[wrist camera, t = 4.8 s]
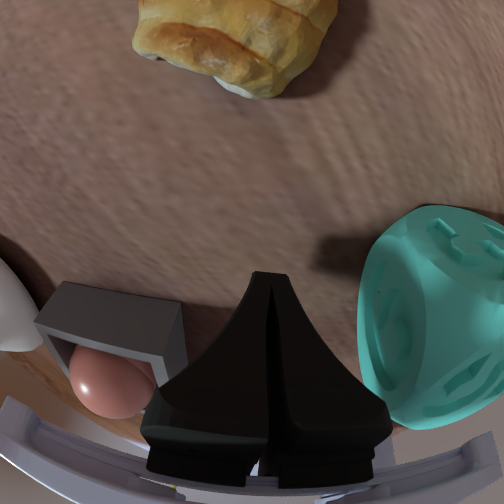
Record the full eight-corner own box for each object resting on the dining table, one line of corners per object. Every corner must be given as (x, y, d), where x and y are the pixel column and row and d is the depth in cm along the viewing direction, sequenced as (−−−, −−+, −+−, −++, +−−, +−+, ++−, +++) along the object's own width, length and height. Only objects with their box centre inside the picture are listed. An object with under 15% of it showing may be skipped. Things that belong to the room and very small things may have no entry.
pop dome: (170, 372, 20) (152, 441, 15) (102, 356, 20) (77, 417, 15) (158, 320, 17) (128, 405, 12) (79, 304, 17) (39, 373, 12)
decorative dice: (450, 313, 16) (493, 408, 9) (348, 321, 16) (372, 443, 10) (492, 209, 12) (578, 300, 5) (374, 198, 12) (461, 328, 5)
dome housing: (190, 379, 21) (181, 422, 18) (96, 358, 21) (79, 394, 18) (180, 302, 16) (162, 356, 13) (62, 281, 16) (32, 321, 13)
